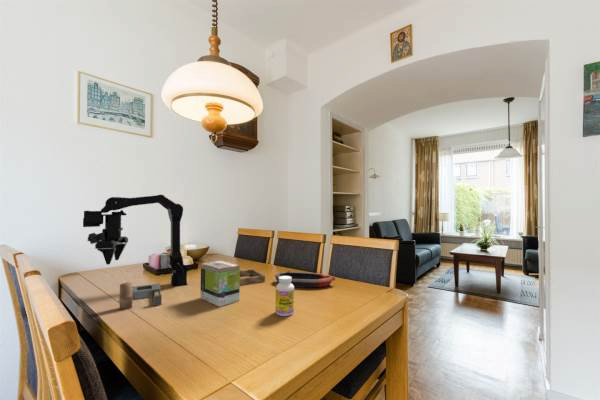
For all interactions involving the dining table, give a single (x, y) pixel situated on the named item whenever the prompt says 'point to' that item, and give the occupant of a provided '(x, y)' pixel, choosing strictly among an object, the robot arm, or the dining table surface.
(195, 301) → the dining table surface
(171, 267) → the robot arm
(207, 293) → the tea box
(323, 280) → the dish
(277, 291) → the supplement bottle
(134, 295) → the mount
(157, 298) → the lock pin
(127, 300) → the peg
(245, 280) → the trivet
